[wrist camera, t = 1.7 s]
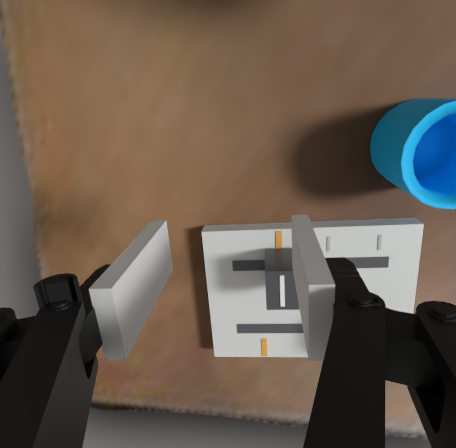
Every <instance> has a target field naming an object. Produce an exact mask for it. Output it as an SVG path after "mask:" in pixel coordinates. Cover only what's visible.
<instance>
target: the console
mask: <svg viewBox="0 0 456 448" xmlns="http://www.w3.org/2000/svg"><path fill="white" fill-rule="evenodd" d="M311 224H312V226H313V229H314V232H315V234H316V237H317V239H318V242H319V244H320V247H321V249H322V252H323V255H324V257H325V258H339V257H345V258H346V259H348V260H349V261H351V262H353V263H354V265H355V267H356V269H357V271H358V272H359V274H360V277H361V278H362V279H363V281H364V283H365V285H366V287H367V288H368V290H369V292H372V293H374V294H376V295H378V296H380V297H381V298H382V299H383V300H384V302H385V305H386V308H389V309H392V310H396V311H400V312H406V313H412V314H413V310H414V302H415V293H416V285H417V277H418V268H419V260H420V252H421V243H422V235H423V226H424V224H423V223H422V222H421V221H419V220H418V219H417V218H415V217H413V218H386V219H360V220H334V221H311ZM202 242H203V251H204V260H205V270H206V279H207V289H208V298H209V308H210V317H211V327H212V336H213V346H214V355H215V357H308V354H307V349H306V343H305V337H304V332H303V326H302V320H301V314H300V309H299V310H267V308H266V284H265V249H286V248H292V222H281V223H255V224H228V225H204V228H203V230H202Z"/></svg>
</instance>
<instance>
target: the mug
mask: <svg viewBox="0 0 456 448" xmlns="http://www.w3.org/2000/svg"><path fill="white" fill-rule="evenodd" d="M370 154H371V160H372V163H373V164H374V166H375V168H376V170H377V172H378V173H380V174H381V175H382V176H383V177H384V178H385V179H387V180H388V181H389V182H391V183H393V184H394V185H396V186H397V187H399V188H400V189H402V190H403V191H405V192H407V193H408V194H410V195H411V196H413V197H414V198H416V199H417V200H419V201H420V202H422V203H425V204H427V205H430V206H433V207H435V208H443V209H456V99H414V100H410V101H407V102H403V103H401V104H399V105H397V106H396V107H394V108H393V109H391V110H389V111H388V112H387V113H386V114H385V115H384V117H383V118H382V119H381V120H380V121H379V122H378V124H377V126H376V128H375V130H374V132H373V134H372V138H371V144H370Z"/></svg>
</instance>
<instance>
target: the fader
mask: <svg viewBox="0 0 456 448" xmlns="http://www.w3.org/2000/svg"><path fill="white" fill-rule="evenodd" d="M265 284H266V308H267V310H299V303H298V297H297V292H296V286H295V280H294V275H293V269H292V248H286V249H265Z"/></svg>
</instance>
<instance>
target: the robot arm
mask: <svg viewBox="0 0 456 448" xmlns="http://www.w3.org/2000/svg"><path fill="white" fill-rule="evenodd" d="M291 216H292V269H293V275H294V280H295V286H296V292H297V297H298V303H299V309H300V314H301V320H302V326H303V332H304V337H305V343H306V349H307V354H308V360H323V365H322V369H321V373H320V378H319V382H318V386H317V390H316V395H315V399H314V403H313V408H312V412H311V416H310V420H309V425H308V429H307V433H306V438H305V442H304V446H303V448H385V380H387V381H391V382H396V383H400V384H404V385H407V386H408V390H409V393H410V395H411V398H412V400H413V403H414V405H415V408H416V410H417V413H418V415H419V417H420V420H421V422H422V425H423V427H424V430H425V432H426V435H427V437H428V439H429V442H430V444H431V447H432V448H456V305H453V304H450V303H447V302H438V301H429V302H423V303H421V304H419V305H418V306H417V308H416V313H415V314H412V313H406V312H400V311H396V310H392V309H389V308H386V305H385V302H384V300H383V299H382V298H381V297H380V296H378V295H376V294H374V293H372V292H369V290H368V288H367V287H366V285H365V283H364V281H363V279H362V278H361V277H360V274H359V272H358V271H357V269H356V267H355V265H354V263H353V262H351V261H349V260H348V259H346V258H345V257H339V258H325V257H324V255H323V252H322V249H321V247H320V244H319V242H318V239H317V237H316V234H315V232H314V229H313V226H312V224H311V221H310V219H309V216H308V215H291ZM172 271H173V265H172V258H171V251H170V244H169V237H168V230H167V223H166V220H163V221H151V222H150V223H149V224H148V225H147V226H146V227H145V228H144V229H143V231H142V232H141V233H140V234H139V235H138V236H137V237H136V238H135V239H134V240H133V241H132V242H131V244H130V245H129V246H128V247H127V248H126V249H125V250H124V251H123V252H122V253H121V254H120V255H119V257H118V258H117V259H116V260H115V261H114V262H113V263H112V264H108V265H104V266H103V267H101V268H99V269H97V270H96V271H95V272H94V273H93V274H92V275H91V276H90V277H89V278H88V279H87V280H86V281H85V282H84V283H83V284H82V285H81V286H80V287H79V283H78V279H77V276H75V275H74V274H68V273H67V274H58V275H54V276H50V277H48V278H45V279H43V280H41V281H39V282H38V283H37V284H35V285H34V291H35V294H36V298H37V301H38V304H39V308H40V310H39V311H38V313H37V315H36V316H32V317H28V318H22V319H17V318H16V315H15V312H14V310H13V309H11V308H0V448H82V446H83V440H84V436H85V431H86V425H87V420H88V415H89V410H90V405H91V400H92V395H93V390H94V385H95V380H96V375H97V369H98V361H97V357H96V353H97V352H98V350H99V348H100V347H101V345H102V348H103V352H104V357H105V359H127V357H128V355H129V353H130V351H131V349H132V347H133V345H134V344H135V342H136V340H137V338H138V336H139V334H140V332H141V330H142V328H143V327H144V325H145V323H146V321H147V319H148V317H149V315H150V313H151V311H152V309H153V308H154V306H155V304H156V302H157V300H158V298H159V296H160V294H161V292H162V290H163V289H164V287H165V285H166V283H167V281H168V279H169V277H170V275H171V273H172Z"/></svg>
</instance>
